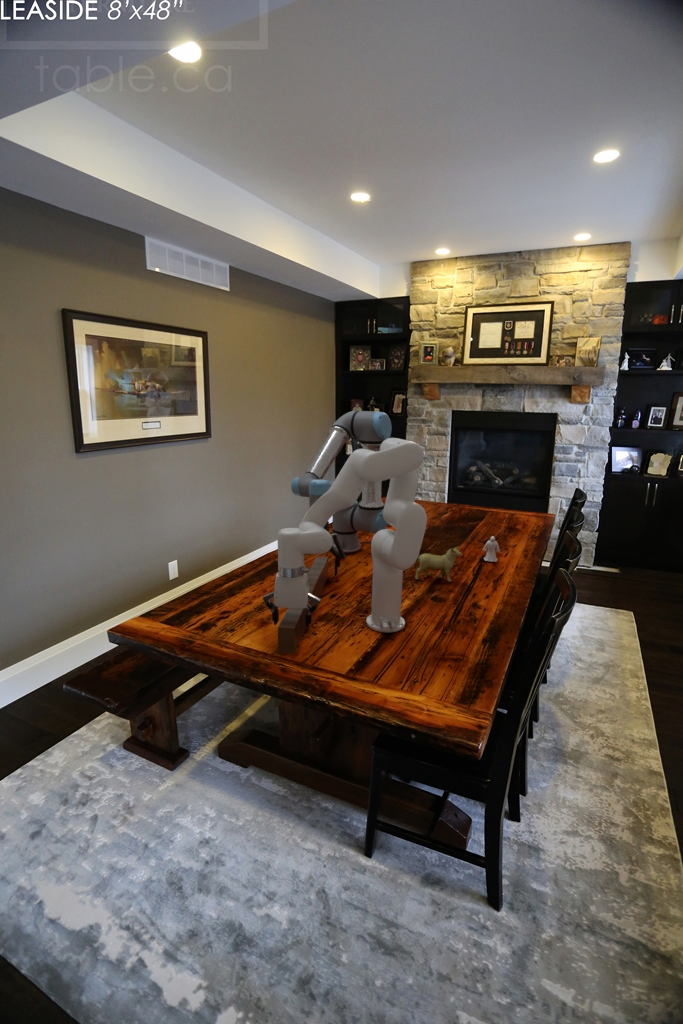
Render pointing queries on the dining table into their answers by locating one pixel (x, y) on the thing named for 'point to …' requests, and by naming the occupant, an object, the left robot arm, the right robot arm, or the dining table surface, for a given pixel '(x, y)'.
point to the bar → (301, 610)
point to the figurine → (491, 550)
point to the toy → (438, 563)
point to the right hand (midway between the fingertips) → (292, 624)
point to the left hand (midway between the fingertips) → (318, 573)
